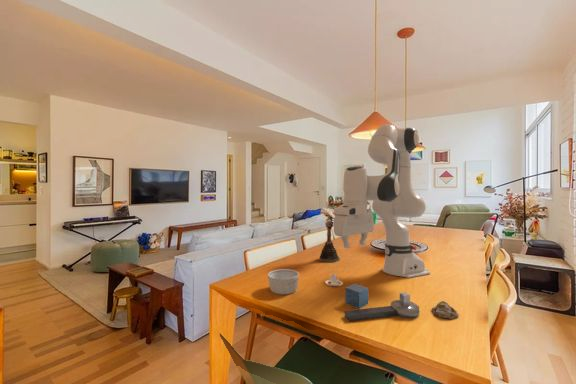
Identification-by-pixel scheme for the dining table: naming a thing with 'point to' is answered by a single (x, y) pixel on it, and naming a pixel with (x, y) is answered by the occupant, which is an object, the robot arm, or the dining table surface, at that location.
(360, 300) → the slate grey cube
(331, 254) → the bird statue
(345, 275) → the dining table surface
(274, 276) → the ramekin
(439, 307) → the mineral rock
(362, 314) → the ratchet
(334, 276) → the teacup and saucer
